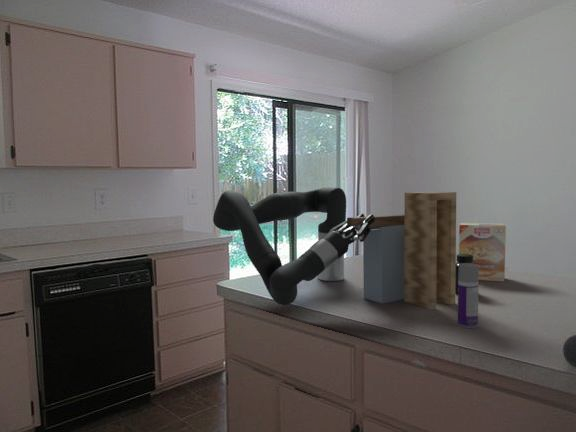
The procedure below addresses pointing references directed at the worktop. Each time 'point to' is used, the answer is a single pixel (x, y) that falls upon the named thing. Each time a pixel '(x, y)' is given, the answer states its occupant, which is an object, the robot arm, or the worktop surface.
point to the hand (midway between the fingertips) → (368, 216)
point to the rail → (379, 221)
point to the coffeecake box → (485, 248)
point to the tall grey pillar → (384, 264)
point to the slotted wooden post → (430, 248)
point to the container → (468, 295)
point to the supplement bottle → (460, 259)
